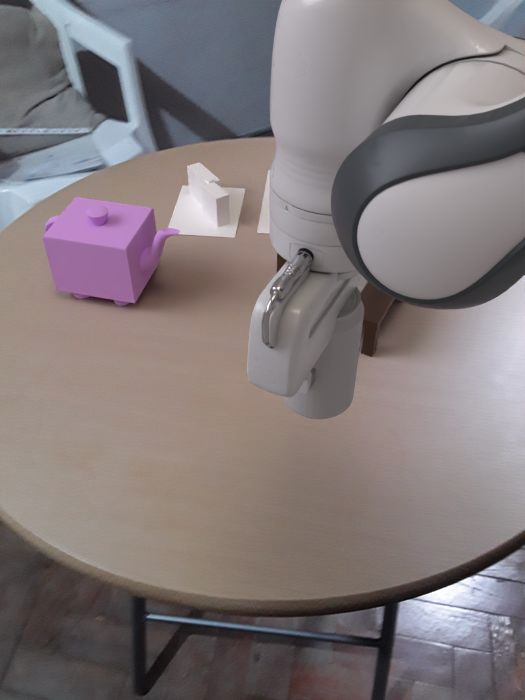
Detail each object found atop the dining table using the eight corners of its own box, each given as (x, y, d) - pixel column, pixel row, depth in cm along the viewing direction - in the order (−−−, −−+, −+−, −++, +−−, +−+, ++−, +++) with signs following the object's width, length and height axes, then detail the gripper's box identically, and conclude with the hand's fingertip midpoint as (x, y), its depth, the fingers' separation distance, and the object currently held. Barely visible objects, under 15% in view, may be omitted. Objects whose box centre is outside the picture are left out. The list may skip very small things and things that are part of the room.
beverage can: (322, 436, 58) (332, 333, 50) (266, 399, 61) (266, 296, 53) (367, 395, 61) (382, 292, 53) (312, 361, 64) (318, 259, 56)
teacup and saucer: (335, 185, 119) (337, 164, 117) (334, 210, 114) (336, 189, 111) (285, 183, 120) (286, 162, 117) (282, 207, 114) (282, 186, 112)
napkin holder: (181, 185, 120) (178, 155, 116) (245, 188, 119) (245, 158, 115) (165, 234, 109) (162, 203, 105) (236, 237, 108) (235, 206, 104)
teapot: (42, 295, 98) (21, 222, 89) (73, 254, 105) (56, 182, 96) (174, 318, 94) (165, 244, 86) (196, 274, 101) (190, 201, 93)
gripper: (312, 316, 40) (303, 458, 50) (418, 163, 53) (395, 298, 63) (219, 286, 42) (228, 427, 52) (344, 146, 55) (332, 279, 65)
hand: (320, 356), depth 58 cm, fingers closed on beverage can, 6 cm apart
